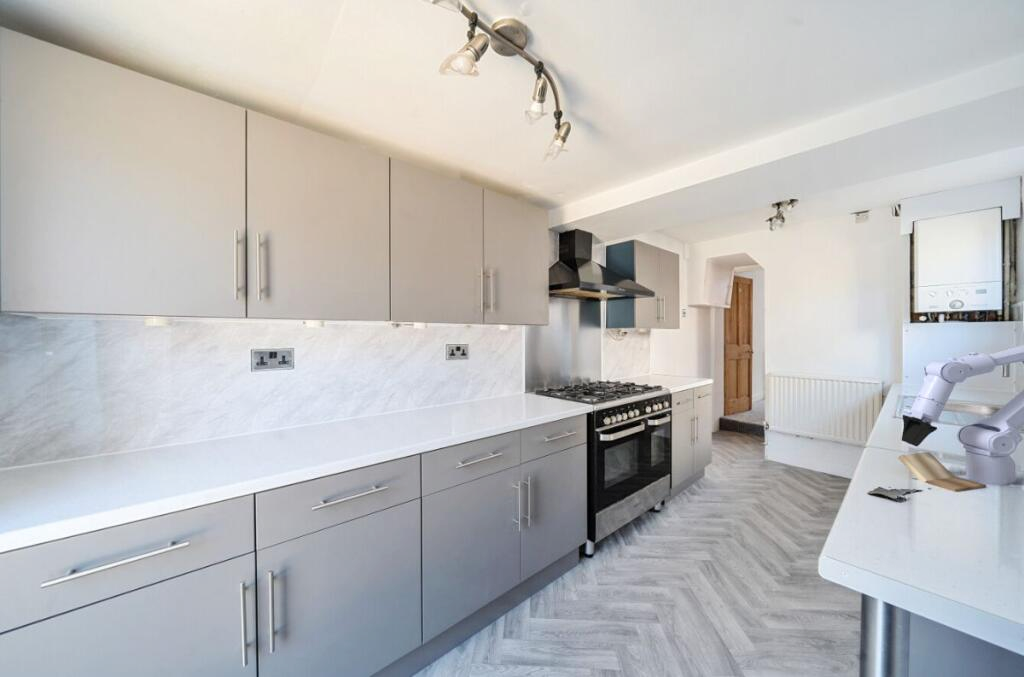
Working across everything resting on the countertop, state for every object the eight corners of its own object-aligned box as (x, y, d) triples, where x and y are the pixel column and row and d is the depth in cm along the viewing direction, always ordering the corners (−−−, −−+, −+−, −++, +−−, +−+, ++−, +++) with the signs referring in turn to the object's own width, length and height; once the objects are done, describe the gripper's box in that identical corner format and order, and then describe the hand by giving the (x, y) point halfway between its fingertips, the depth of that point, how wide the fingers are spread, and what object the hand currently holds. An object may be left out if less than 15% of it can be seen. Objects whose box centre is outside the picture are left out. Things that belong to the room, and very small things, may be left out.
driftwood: (892, 502, 94) (892, 494, 94) (861, 492, 101) (861, 484, 101) (945, 492, 100) (945, 484, 100) (912, 483, 106) (912, 476, 106)
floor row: (913, 471, 114) (913, 464, 114) (985, 491, 99) (985, 484, 99) (885, 474, 112) (885, 468, 112) (955, 496, 97) (955, 489, 97)
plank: (924, 454, 111) (929, 451, 110) (950, 479, 106) (955, 477, 105) (897, 457, 109) (901, 455, 108) (922, 483, 104) (926, 480, 103)
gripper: (916, 399, 114) (896, 439, 115) (905, 391, 106) (885, 434, 107) (950, 408, 108) (929, 451, 109) (941, 401, 100) (919, 446, 101)
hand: (909, 443), depth 108 cm, fingers open, 7 cm apart
